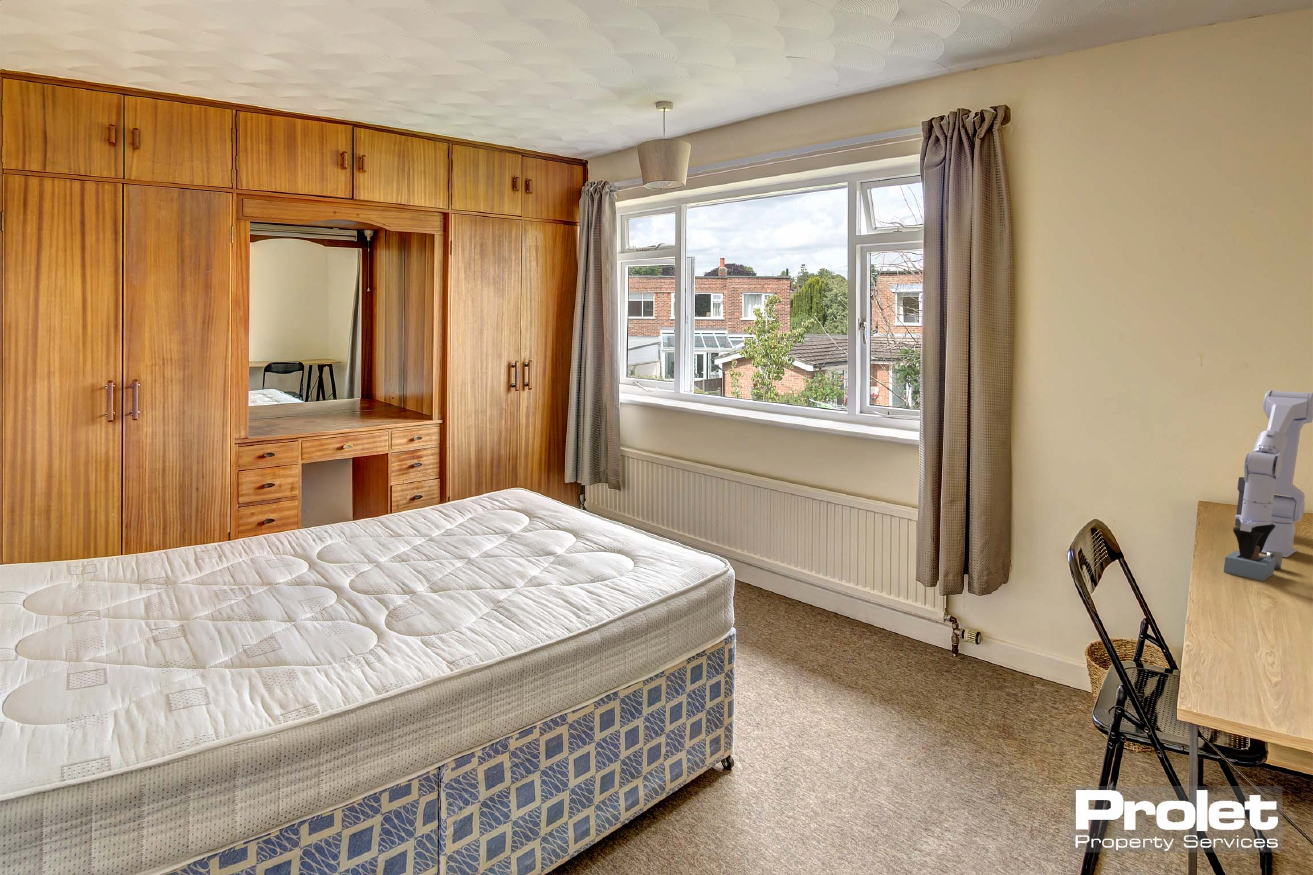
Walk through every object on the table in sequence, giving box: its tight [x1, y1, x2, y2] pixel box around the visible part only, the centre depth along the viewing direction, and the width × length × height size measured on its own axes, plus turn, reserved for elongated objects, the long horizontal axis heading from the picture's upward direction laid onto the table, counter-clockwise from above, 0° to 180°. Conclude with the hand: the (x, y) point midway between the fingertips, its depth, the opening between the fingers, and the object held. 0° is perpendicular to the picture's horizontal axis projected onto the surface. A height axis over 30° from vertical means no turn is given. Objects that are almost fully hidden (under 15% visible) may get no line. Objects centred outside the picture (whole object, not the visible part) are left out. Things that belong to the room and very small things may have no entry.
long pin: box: [1242, 546, 1260, 562], centre depth 185 cm, size 3×3×7 cm
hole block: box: [1223, 550, 1275, 582], centre depth 185 cm, size 8×8×4 cm
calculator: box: [1234, 476, 1246, 527], centre depth 221 cm, size 11×4×15 cm, turn 168°
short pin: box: [1265, 551, 1284, 571], centre depth 189 cm, size 3×3×4 cm
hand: (1250, 554), depth 185 cm, fingers open, 7 cm apart
